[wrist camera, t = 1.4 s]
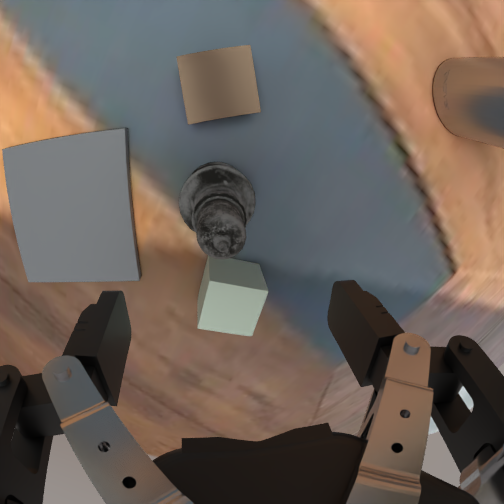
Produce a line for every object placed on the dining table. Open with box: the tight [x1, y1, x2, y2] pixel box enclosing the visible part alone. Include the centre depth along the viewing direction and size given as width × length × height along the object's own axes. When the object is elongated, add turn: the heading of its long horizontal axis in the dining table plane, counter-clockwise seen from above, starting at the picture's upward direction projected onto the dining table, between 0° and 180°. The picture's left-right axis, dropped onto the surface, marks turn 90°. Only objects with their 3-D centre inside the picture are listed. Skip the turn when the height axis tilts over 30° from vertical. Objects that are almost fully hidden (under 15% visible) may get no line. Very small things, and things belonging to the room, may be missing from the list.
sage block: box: [198, 255, 268, 336], centre depth 29 cm, size 5×5×5 cm
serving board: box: [2, 128, 141, 282], centre depth 25 cm, size 13×14×1 cm
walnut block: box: [177, 45, 261, 125], centre depth 21 cm, size 5×5×5 cm
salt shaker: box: [179, 162, 255, 259], centre depth 22 cm, size 6×6×12 cm
